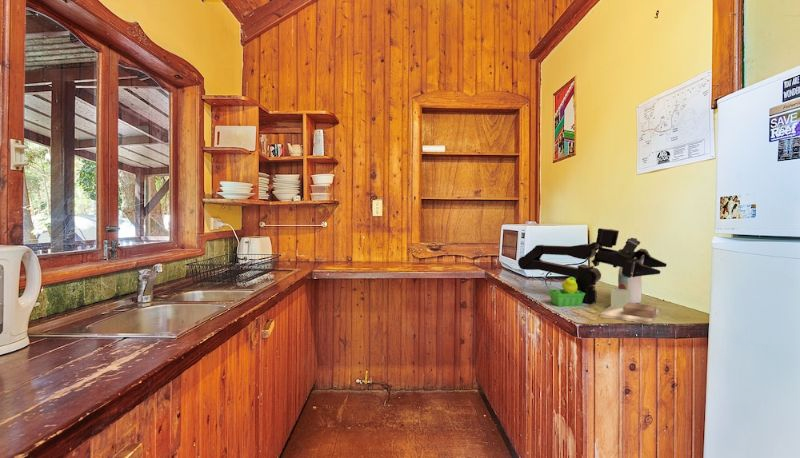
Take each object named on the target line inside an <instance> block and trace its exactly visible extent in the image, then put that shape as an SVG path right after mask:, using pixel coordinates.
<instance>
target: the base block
mask: <svg viewBox="0 0 800 458" xmlns="http://www.w3.org/2000/svg"><path fill="white" fill-rule="evenodd" d="M656 307H657V305H651V304H650V305H649V304H642V303H627V304H626V305H625V306H624V307H623V314H624V315H631V316H638V317H644V318H651V319H653V317H654V316H655V315H656Z"/></svg>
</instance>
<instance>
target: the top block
mask: <svg viewBox="0 0 800 458" xmlns="http://www.w3.org/2000/svg"><path fill="white" fill-rule="evenodd" d="M627 303H630V290H626V289H618V288H617V287H616V288H612V289H610V306H611V307H615V308H622V309H623V307H624V306H625V305H626V304H627Z"/></svg>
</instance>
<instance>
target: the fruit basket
mask: <svg viewBox="0 0 800 458" xmlns="http://www.w3.org/2000/svg"><path fill="white" fill-rule="evenodd" d="M561 287H562V289H548V290H547V291H548V293H549V296H550V300H551V304H552V305H555V306H557V307H580V306H582V301H583V298H584V296H585V293H583V292H581V291H578V290H577V284H576V279H575V278H574V277H570V276H568V278H566V279H565V280H564V281H562V283H561Z"/></svg>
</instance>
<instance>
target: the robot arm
mask: <svg viewBox="0 0 800 458" xmlns="http://www.w3.org/2000/svg"><path fill="white" fill-rule="evenodd" d="M619 231H620V230H619V229H618V230H617V229H612V228H609V229H608V228H600V227H599V228H597V236H596V241H594V242H592V243H585V244H584V243H583V244H578V245H571V246H569V245H545V244H537V245H535V246H534V247H533V248H532V249H531V250H530V251H528V252H527V253H526V254H525V255H523V256H521V257H519V258H518V261H517V264H518V267H519V268H520V269H521V270H529V271H532V270H533V271H534V270H535V271H539V270H540V271H543V272H547V273H551V274H556V275H561V276H562V275H563V276H566V277H574V278H575V279H576V284H577V290H578V291H581V292H583V293H585V296H584V298H583V301H582V303H583V304H591V305H593V304H594V303H595V302H597V297H598V294H597V293H598V291H597V290H596V285H597V282H598V281H600V280H601V278H602V272H601V271H600V269H598V268H597V267H599V265H600V263H602V264H607V265H609V266H610V265H611V266H612V267H613V268H615V269H616V268H617V267H619V268H620V267H622V268H623V269H622V274H623V276H624V277H628V278H631V277H637V276H641V277H644V276H654V275H660V274H661V270H659V269H657V268H666V267H667V264H668V263H666V262H664V261H662V260H659V259H657V258H655V257H653V256H651V254H650V253H649V251H648V250H647V249H645V248H639V249H637V247H638V246H640V244H641V241H640V240H638V239H637V238H634V237H631V238H630V237H629V238H627V240H626V242H625V245H624V246H623V248H622V249H621V248H620V249H618V250H616V249H613V247H614V246H617V241H618V238H619ZM636 249H637V250H636ZM635 250H636V252H634V251H635ZM543 255H553V256H554V255H555V256H568V257H572V258H576V259H579V260H588V259H591V258H593V257H594V258H593V259H591V263H592V264H593V265H587V264H584V263H581V264H579V265H577V267H574V266H570V265H565V264H559V263H555V262H552V261H551V262H550V261H546V260H542V259H541V258H542V256H543ZM631 273H633V275H632V274H631Z"/></svg>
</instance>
